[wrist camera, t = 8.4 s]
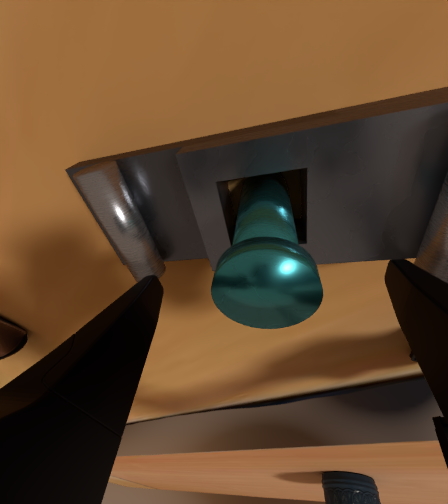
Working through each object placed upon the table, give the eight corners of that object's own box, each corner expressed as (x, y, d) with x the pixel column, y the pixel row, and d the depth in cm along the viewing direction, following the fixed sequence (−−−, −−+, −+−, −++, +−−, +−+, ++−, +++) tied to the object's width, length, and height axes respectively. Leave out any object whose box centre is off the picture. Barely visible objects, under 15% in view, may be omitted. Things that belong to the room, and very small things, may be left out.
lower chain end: (325, 235, 17) (339, 273, 14) (131, 253, 21) (108, 285, 18) (333, 110, 12) (355, 125, 9) (79, 161, 16) (36, 185, 13)
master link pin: (296, 215, 16) (320, 328, 9) (239, 221, 17) (223, 328, 10) (294, 156, 14) (326, 249, 7) (229, 167, 15) (198, 259, 8)
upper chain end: (458, 223, 15) (532, 284, 11) (219, 245, 19) (206, 297, 15) (528, 70, 10) (706, 74, 6) (189, 139, 14) (158, 171, 10)
